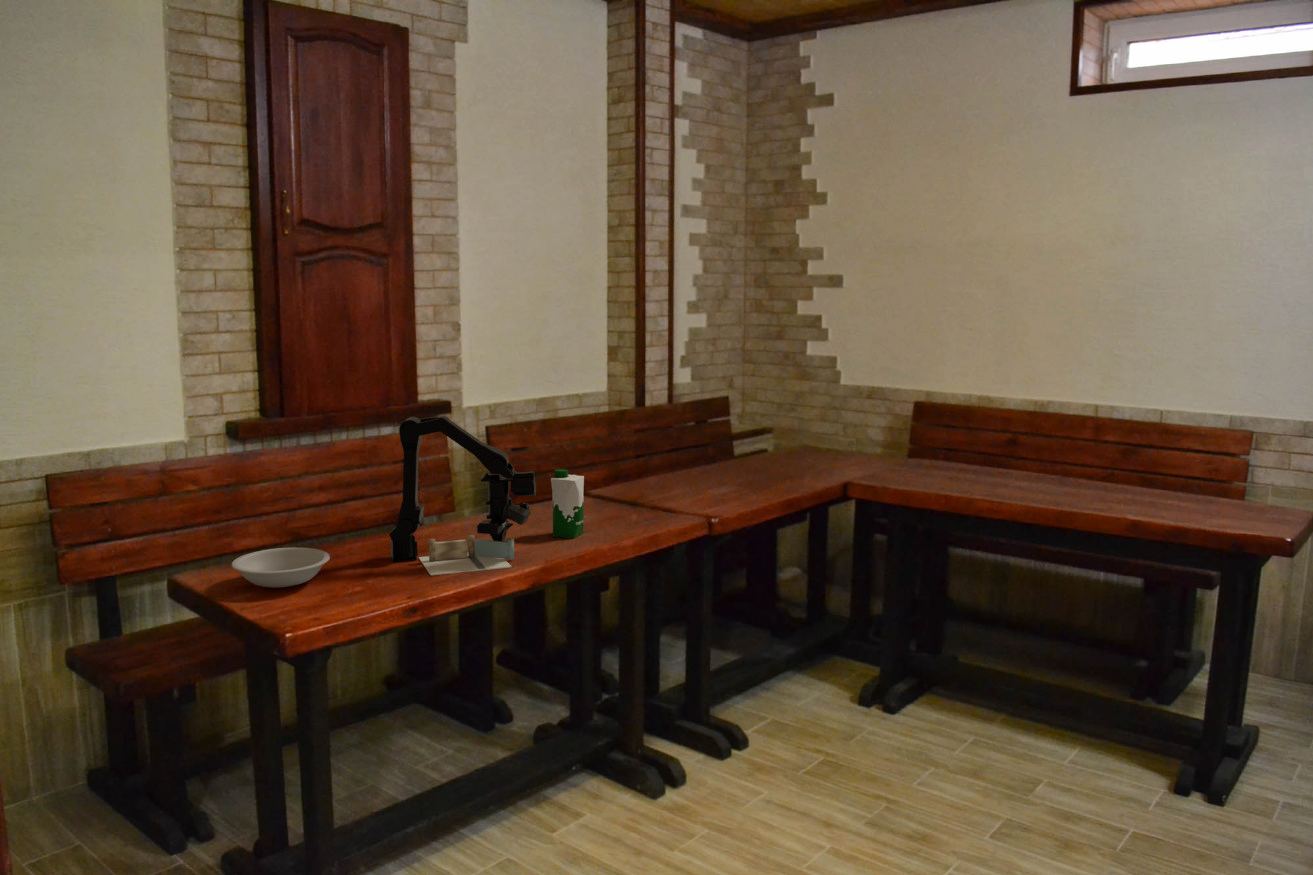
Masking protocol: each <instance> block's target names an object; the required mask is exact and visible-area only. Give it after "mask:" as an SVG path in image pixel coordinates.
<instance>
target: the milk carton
mask: <svg viewBox="0 0 1313 875" xmlns="http://www.w3.org/2000/svg"><path fill="white" fill-rule="evenodd" d="M550 483H551V484H550V485H551V489H552V490H551V491H552V493H551V494H552V537H553V538H555V537H556V538H562V539H563V538H565V539H576V538H578V537H579V536H581V535H583V534H584V527H585V526H584V523H585V522H584V521H585V520H584V519H585V518H584V512H585V511H584V509H585V508H584V507H585V506H584V497H585V496H584V486H585V476H584V475H577V474H569V470H568V469H566V468H557V469H554V476H553V477H551V478H550Z"/></svg>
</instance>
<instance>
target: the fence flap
mask: <svg viewBox="0 0 1313 875" xmlns="http://www.w3.org/2000/svg"><path fill="white" fill-rule="evenodd" d="M514 540H515V538H514V537H507V538H506V540H505V541H493V539H491V540H490V539H478V538H477V539H475V556H477V557H491V558H504V559H505V560H506V559H508V560H514V559H515V541H514Z"/></svg>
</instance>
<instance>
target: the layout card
mask: <svg viewBox="0 0 1313 875" xmlns="http://www.w3.org/2000/svg"><path fill="white" fill-rule="evenodd" d="M418 559H419V561H420V563H421V564H422V565H423V567H424V568H425V570H426V571H427V572H428V574H429V576H431V577H432V576H443V575H452V574H463V573H471V572H481V571H490V570H501V569H511V568H512V565H511V564H510V563H509V562H508V561H507V560H506V559H505V558H491V557H477V556H475V557H469V554H468V558H457V559H447V560H437V561H429V555H427V556H426V555H425V556H419V557H418Z"/></svg>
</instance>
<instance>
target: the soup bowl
mask: <svg viewBox="0 0 1313 875" xmlns="http://www.w3.org/2000/svg"><path fill="white" fill-rule="evenodd" d="M330 559H331V556H330V553H328V552H326V551H325V550H322V549H318V548H317V549H316V548H313V547H312V548H310V547H280V548H278V547H277V548H269V549H262V550H259V551H253V552H251V553H245V554H243V555H241V556H239V557H237V558H235V559H234V560H233V561H232V562H231V567H232V568H233V569H234V570H235V571H237V572H239V573H240V574H241V576H242V577H243V578H245V580H246V581H249V583H252V584H253V585H256V586H259V587H264V588H287V587H293V586H297V585H300V584H304V583H306V582H308V581H309V580H311V579H313V577H315V576H316V575H317V574H318V573H319V571H321V569H322V568H323V565H325V563H328V561H330Z"/></svg>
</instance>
